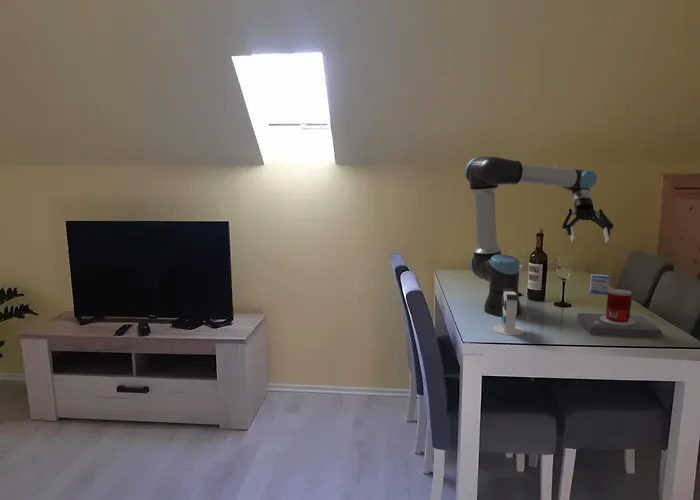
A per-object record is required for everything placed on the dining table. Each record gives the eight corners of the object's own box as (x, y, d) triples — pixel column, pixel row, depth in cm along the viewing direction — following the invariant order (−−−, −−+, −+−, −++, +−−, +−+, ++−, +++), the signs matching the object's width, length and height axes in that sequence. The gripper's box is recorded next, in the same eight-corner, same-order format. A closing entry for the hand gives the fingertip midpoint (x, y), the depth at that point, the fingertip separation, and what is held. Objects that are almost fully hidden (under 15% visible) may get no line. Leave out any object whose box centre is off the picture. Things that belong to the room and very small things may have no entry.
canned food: (632, 323, 195) (634, 294, 193) (608, 321, 196) (611, 293, 195) (625, 317, 202) (628, 289, 200) (603, 316, 204) (605, 288, 202)
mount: (590, 334, 193) (591, 323, 192) (577, 320, 210) (578, 310, 210) (660, 338, 189) (661, 327, 189) (641, 323, 207) (642, 312, 206)
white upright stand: (491, 324, 205) (493, 287, 202) (521, 325, 203) (523, 288, 201) (494, 334, 193) (496, 295, 191) (526, 336, 192) (529, 296, 189)
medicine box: (589, 292, 253) (591, 275, 252) (589, 290, 257) (590, 273, 256) (608, 294, 250) (609, 276, 249) (607, 292, 254) (608, 274, 253)
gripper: (610, 208, 233) (619, 247, 221) (551, 207, 236) (557, 245, 224) (615, 197, 227) (624, 236, 215) (555, 196, 230) (560, 235, 218)
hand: (590, 241), depth 219 cm, fingers open, 13 cm apart
